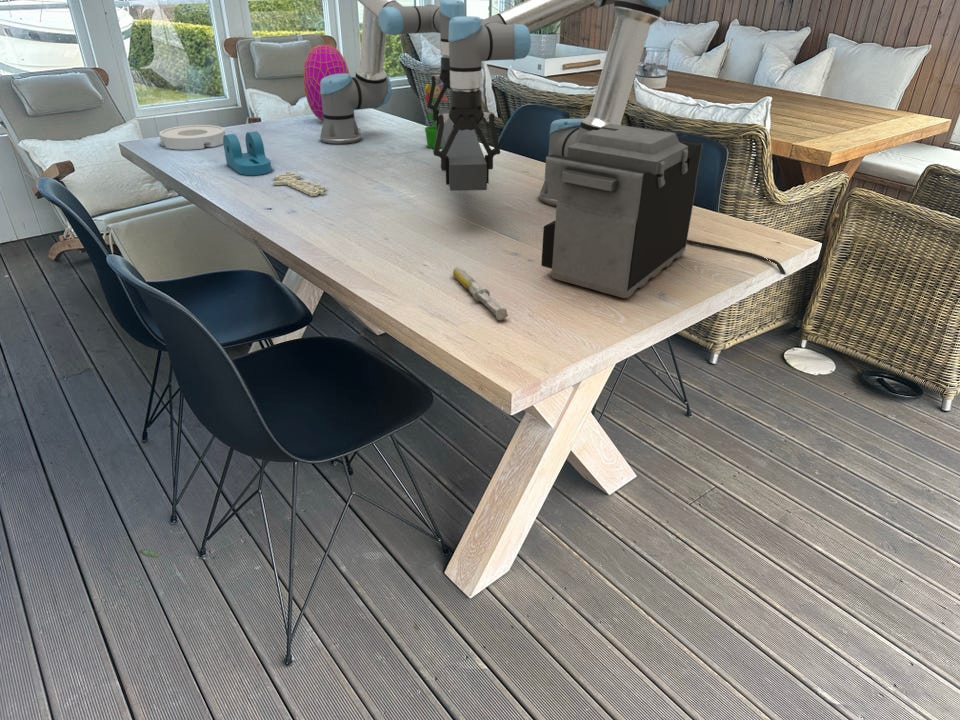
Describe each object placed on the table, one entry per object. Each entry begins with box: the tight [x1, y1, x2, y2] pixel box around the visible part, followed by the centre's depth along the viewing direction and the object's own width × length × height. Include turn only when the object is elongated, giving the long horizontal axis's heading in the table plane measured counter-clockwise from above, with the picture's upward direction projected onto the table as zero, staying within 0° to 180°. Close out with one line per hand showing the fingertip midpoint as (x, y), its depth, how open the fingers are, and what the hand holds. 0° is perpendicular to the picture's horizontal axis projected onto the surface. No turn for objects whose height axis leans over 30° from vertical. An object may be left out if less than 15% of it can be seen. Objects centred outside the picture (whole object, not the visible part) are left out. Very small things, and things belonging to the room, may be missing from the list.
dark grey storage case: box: [540, 124, 704, 299], centre depth 153 cm, size 37×22×30 cm, turn 144°
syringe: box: [452, 266, 509, 321], centre depth 145 cm, size 25×4×3 cm, turn 21°
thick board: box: [439, 108, 488, 192], centre depth 198 cm, size 67×9×6 cm, turn 5°
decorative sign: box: [273, 171, 326, 197], centre depth 212 cm, size 26×1×10 cm
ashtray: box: [158, 124, 226, 151], centre depth 259 cm, size 23×23×4 cm
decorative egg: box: [303, 44, 350, 122], centre depth 287 cm, size 19×19×30 cm
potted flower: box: [424, 79, 449, 149], centre depth 252 cm, size 9×8×25 cm
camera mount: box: [222, 131, 272, 176], centre depth 226 cm, size 18×10×10 cm, turn 35°
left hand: (453, 130), depth 224 cm, fingers closed on thick board, 9 cm apart
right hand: (467, 182), depth 175 cm, fingers closed on thick board, 9 cm apart
